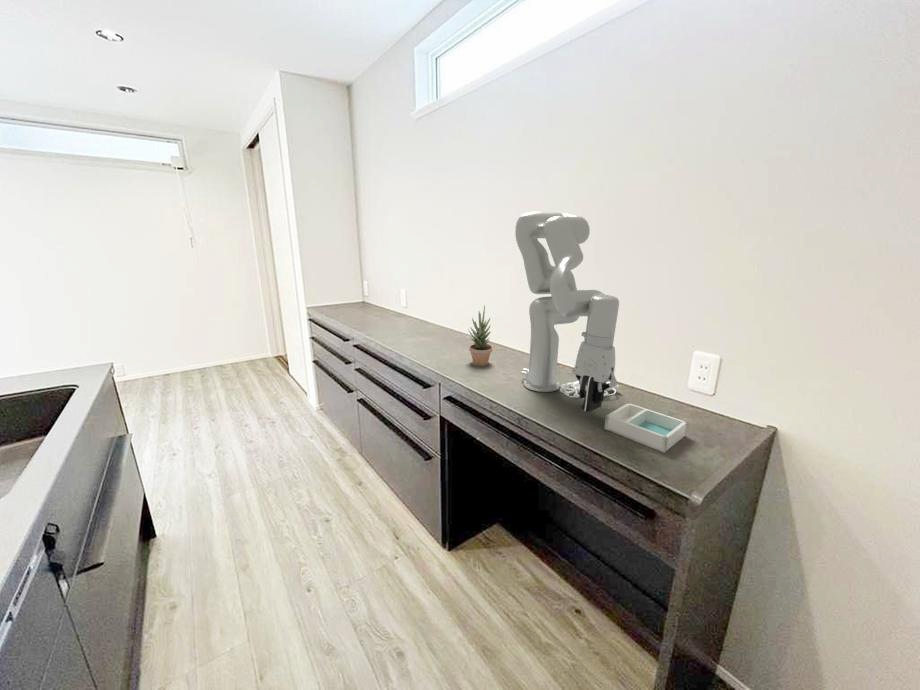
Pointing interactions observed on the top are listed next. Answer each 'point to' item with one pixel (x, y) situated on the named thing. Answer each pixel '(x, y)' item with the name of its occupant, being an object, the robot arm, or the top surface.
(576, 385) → the tangled rod sculpture
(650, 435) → the divided compartment box
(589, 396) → the battery charger
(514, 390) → the top surface
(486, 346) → the potted plant
